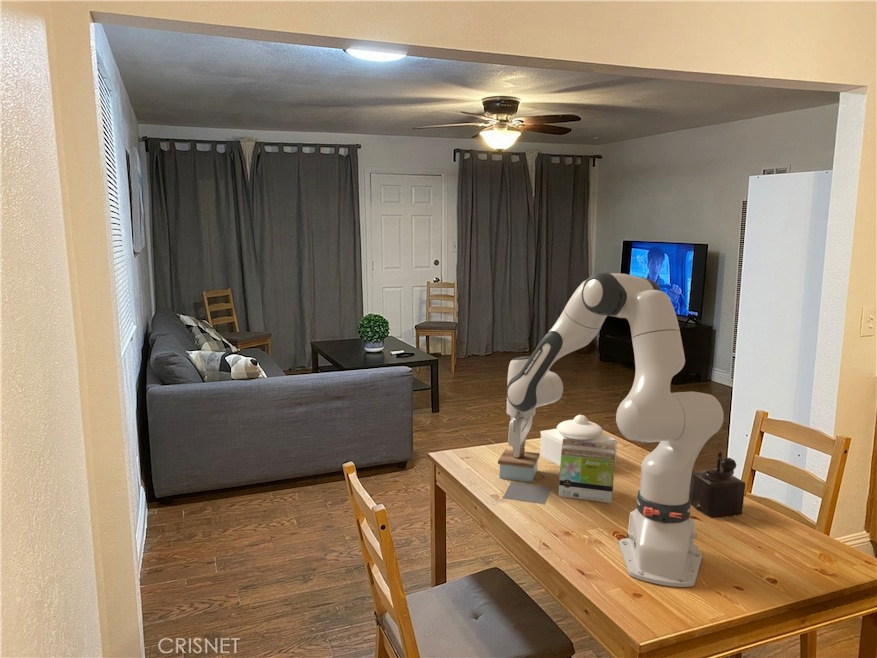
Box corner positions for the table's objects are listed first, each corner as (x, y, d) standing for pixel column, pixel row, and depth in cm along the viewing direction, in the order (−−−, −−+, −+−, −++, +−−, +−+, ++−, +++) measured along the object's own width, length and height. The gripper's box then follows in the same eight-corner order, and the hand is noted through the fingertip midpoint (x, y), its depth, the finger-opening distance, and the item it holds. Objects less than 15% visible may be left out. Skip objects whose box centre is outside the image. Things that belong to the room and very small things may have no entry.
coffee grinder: (684, 502, 178) (689, 441, 175) (717, 498, 181) (723, 439, 178) (720, 527, 163) (726, 461, 161) (757, 523, 166) (763, 458, 163)
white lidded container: (573, 474, 198) (575, 426, 195) (539, 456, 214) (540, 411, 211) (615, 465, 206) (618, 418, 203) (579, 448, 222) (581, 404, 219)
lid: (533, 468, 188) (534, 456, 188) (497, 464, 192) (498, 451, 191) (539, 456, 199) (540, 444, 198) (505, 452, 202) (505, 440, 202)
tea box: (558, 498, 180) (560, 448, 178) (559, 484, 190) (562, 437, 187) (612, 504, 177) (615, 453, 174) (611, 489, 186) (614, 442, 184)
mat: (544, 505, 175) (544, 504, 175) (502, 499, 179) (502, 498, 179) (550, 488, 186) (550, 487, 186) (510, 483, 190) (510, 482, 190)
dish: (531, 483, 190) (532, 467, 189) (499, 479, 193) (499, 463, 192) (537, 471, 199) (537, 456, 199) (506, 467, 202) (506, 452, 202)
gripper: (525, 418, 182) (523, 464, 184) (536, 400, 201) (535, 442, 203) (503, 416, 184) (502, 461, 186) (517, 398, 203) (515, 439, 205)
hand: (519, 451), depth 195 cm, fingers open, 8 cm apart
